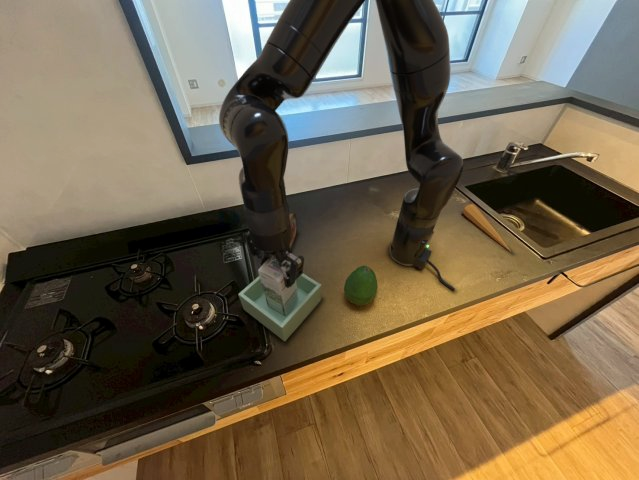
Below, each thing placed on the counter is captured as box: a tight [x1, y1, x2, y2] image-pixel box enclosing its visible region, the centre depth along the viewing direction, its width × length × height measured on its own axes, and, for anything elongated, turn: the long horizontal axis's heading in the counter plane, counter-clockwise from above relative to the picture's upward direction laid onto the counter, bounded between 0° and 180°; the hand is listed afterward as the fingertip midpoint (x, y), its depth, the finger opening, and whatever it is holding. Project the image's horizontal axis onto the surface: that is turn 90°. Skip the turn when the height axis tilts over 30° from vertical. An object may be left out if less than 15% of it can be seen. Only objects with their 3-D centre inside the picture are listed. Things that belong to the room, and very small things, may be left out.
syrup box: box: [257, 258, 298, 316], centre depth 64 cm, size 6×6×14 cm
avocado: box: [343, 265, 379, 306], centre depth 66 cm, size 8×8×12 cm
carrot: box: [462, 203, 512, 253], centre depth 87 cm, size 20×4×4 cm, turn 21°
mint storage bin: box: [238, 273, 322, 342], centre depth 67 cm, size 14×14×7 cm
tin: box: [289, 212, 298, 249], centre depth 81 cm, size 15×3×8 cm, turn 168°
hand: (278, 277), depth 61 cm, fingers closed on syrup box, 6 cm apart
